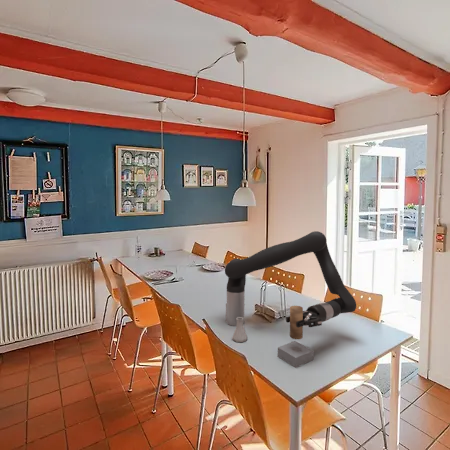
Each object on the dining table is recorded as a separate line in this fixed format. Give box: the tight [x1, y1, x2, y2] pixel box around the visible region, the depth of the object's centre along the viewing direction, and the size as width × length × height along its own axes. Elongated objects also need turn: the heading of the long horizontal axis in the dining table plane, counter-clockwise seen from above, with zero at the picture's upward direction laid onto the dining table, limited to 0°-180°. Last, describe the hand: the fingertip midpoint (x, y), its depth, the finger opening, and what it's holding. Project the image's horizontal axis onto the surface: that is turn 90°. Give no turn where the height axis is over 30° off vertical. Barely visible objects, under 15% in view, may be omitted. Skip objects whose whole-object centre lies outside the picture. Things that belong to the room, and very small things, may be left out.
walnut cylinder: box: [289, 305, 304, 340], centre depth 126 cm, size 5×5×12 cm
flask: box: [231, 317, 249, 343], centre depth 144 cm, size 7×7×10 cm
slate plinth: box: [277, 340, 314, 369], centre depth 127 cm, size 10×10×4 cm
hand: (291, 322), depth 125 cm, fingers closed on walnut cylinder, 5 cm apart
